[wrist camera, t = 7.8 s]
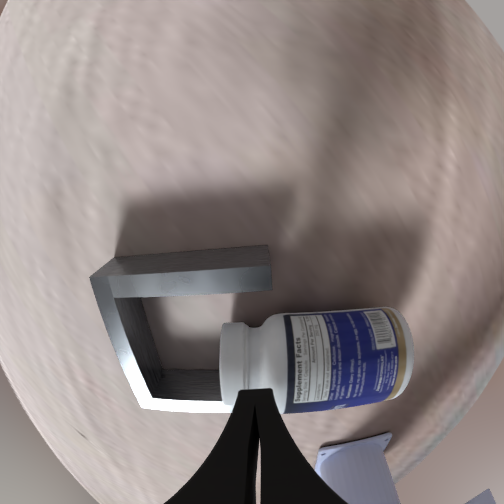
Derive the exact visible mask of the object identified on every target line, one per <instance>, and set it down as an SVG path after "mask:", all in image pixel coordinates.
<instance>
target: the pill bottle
mask: <svg viewBox="0 0 504 504" xmlns="http://www.w3.org/2000/svg"><path fill="white" fill-rule="evenodd" d="M413 364H414V345H413V338H412V335H411V331H410V328H409V326H408V323H407V322H406V320H405V318H404V317H403V315H402V314H401V313H400V312H399V311H397V310H396V309H394V308H391V307H374V308H363V309H352V310H338V311H324V312H300V313H280V314H274V315H272V316H270V317H269V318H267V319H266V320H265V322H264V323H263V325H262V326H260V327H257V328H250V327H249V326H248V325H246V324H245V323H244V322H238V323H224V324H223V325H222V330H221V336H220V362H219V366H220V387H221V396H222V401H223V403H224V405H231V406H234V405H235V402H236V399H237V395H238V391H240V390H243V389H262V388H271V389H273V394H274V398H275V402H276V405H277V407H278V410H279V413H280V414H288V413H303V412H314V411H324V410H333V409H340V408H347V407H354V406H360V405H365V404H371V403H376V402H381V401H386V400H390V399H394V398H396V397H397V396H399V395H400V394H401V393H402V392H403V391H404V390H405V388H406V386H407V385H408V383H409V380H410V378H411V374H412V370H413Z"/></svg>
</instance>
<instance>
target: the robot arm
mask: <svg viewBox="0 0 504 504" xmlns="http://www.w3.org/2000/svg"><path fill="white" fill-rule="evenodd" d="M391 437H392V434H391V433H386V434H382V435H378V436H375V437H371V438H367V439H363V440H358V441H354V442H349V443H344V444H339V445H334V446H328V447H323V448H320V449H319V451H318V455H317V460H316V464H315V469H313V468H312V467H311V465H310V464H309V463H308V462H307V460H306V459H305V457H304V456H303V455H302V453H301V452H300V450H299V449H298V447H297V446H296V444H295V442H294V441H293V439H292V437H291V435H290V434H289V432H288V430H287V428H286V426H285V424H284V422H283V420H282V417H281V415H280V413H279V410H278V407H277V405H276V402H275V398H274V394H273V389H271V388H262V389H243V390H240V391H238V395H237V399H236V402H235V405H234V408H233V410H232V413H231V415H230V417H229V420H228V422H227V424H226V426H225V428H224V430H223V432H222V434H221V436H220V438H219V439H218V441H217V443H216V445H215V446H214V448H213V450H212V451H211V453H210V454H209V456H208V457H207V458H206V460H205V461H204V463H203V464H202V465H201V467H200V468H199V469H198V470H197V472H196V473H195V474H194V475H193V476H192V477H191V479H190V480H189V481H188V482H187V483H186V484H185V485H184V486H183V487H182V488H181V489H180V490H179V491H178V492H177V493H176V494H175V495H174V496H172V497H171V498H170V499H169V500H168V501H166V502H165V503H164V504H256V471H257V460H258V448H259V438H260V447H261V502H260V504H401V503H400V500H399V498H398V494H397V491H396V488H395V485H394V482H393V479H392V476H391V473H390V470H389V467H388V464H387V461H386V458H385V456H384V453H383V452H384V450H385V448H386V446H387V445H388V443H389V441H390V439H391ZM465 504H496V503H495V500H494V498H493V496H492V494H491V491H490V489H487V490H485V491H484V492H482V493H481V494H479V495H478V496H476V497H475V498H473V499H471V500H470V501H468V502H467V503H465Z"/></svg>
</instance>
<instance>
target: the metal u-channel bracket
mask: <svg viewBox="0 0 504 504" xmlns="http://www.w3.org/2000/svg"><path fill="white" fill-rule="evenodd" d="M89 278H90V281H91V284H92V288H93V291H94V294H95V298H96V301H97V304H98V307H99V310H100V313H101V316H102V318H103V321H104V324H105V327H106V329H107V332H108V335H109V337H110V340H111V342H112V345H113V347H114V350H115V352H116V355H117V357H118V359H119V362H120V364H121V366H122V368H123V371H124V373H125V375H126V377H127V379H128V381H129V383H130V386H131V388H132V390H133V392H134V394H135V396H136V398H137V400H138V401H139V403H140V405H141V407H142V408H148V409H157V410H168V411H182V412H207V413H232V410H233V408H234V406H231V405H224V403H223V401H222V396H221V387H220V370H168V369H163V368H162V365H161V362H160V359H159V356H158V354H157V351H156V348H155V345H154V342H153V338H152V335H151V332H150V329H149V326H148V322H147V319H146V316H145V312H144V309H143V305H142V301H141V298H140V297H162V296H186V295H206V294H223V293H239V292H253V291H266V290H272V277H271V264H270V257H269V251H268V245H262V246H249V247H236V248H224V249H211V250H199V251H187V252H174V253H162V254H150V255H139V256H127V257H115V258H113V259H111V260H110V261H109V262H108V263H106V264H105V265H104V266H103V267H101V268H100V269H99V270H98V271H96V272H95V273H94V274H93V275H91V276H90V277H89Z"/></svg>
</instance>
